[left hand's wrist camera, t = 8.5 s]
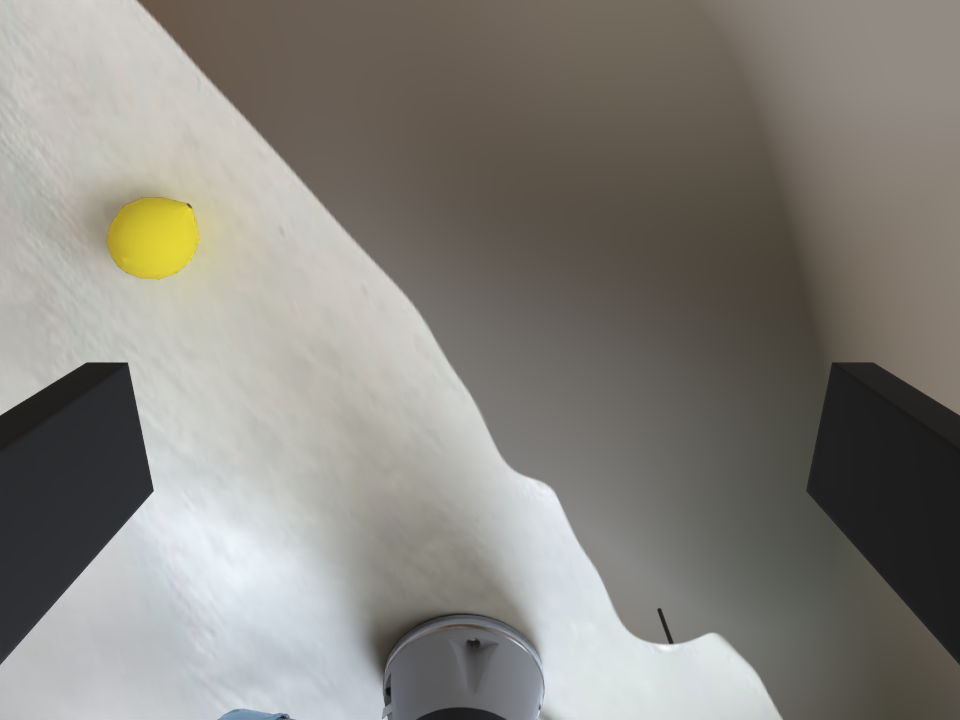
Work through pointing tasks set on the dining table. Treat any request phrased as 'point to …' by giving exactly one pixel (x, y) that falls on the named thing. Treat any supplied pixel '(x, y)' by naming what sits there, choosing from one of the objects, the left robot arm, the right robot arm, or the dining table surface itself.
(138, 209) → the lemon
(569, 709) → the dining table surface
